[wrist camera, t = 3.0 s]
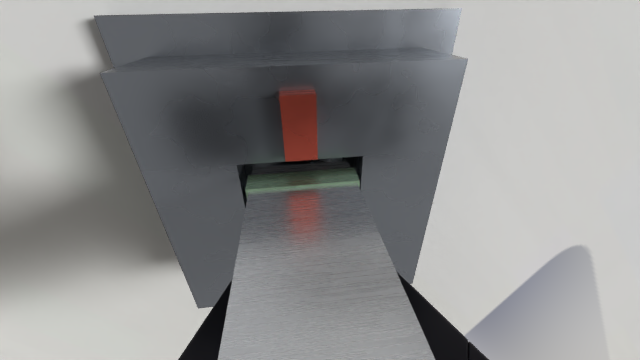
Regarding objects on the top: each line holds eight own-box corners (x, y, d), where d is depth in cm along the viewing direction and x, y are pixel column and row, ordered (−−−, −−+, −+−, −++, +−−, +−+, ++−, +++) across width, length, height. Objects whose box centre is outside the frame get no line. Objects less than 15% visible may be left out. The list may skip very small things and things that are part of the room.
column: (346, 232, 14) (407, 440, 7) (262, 240, 14) (244, 469, 7) (349, 158, 12) (443, 359, 5) (250, 165, 11) (203, 394, 5)
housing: (404, 244, 20) (436, 305, 16) (197, 266, 19) (173, 338, 15) (452, 8, 13) (538, 6, 8) (104, 15, 11) (-3, 17, 7)
